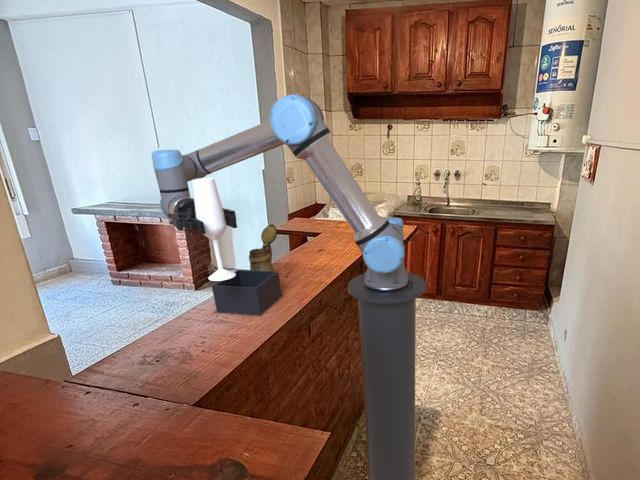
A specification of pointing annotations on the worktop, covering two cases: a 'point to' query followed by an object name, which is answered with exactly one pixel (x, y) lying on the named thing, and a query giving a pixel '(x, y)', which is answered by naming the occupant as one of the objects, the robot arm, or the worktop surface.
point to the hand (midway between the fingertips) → (219, 225)
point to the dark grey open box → (247, 292)
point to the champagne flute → (211, 219)
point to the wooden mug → (263, 251)
